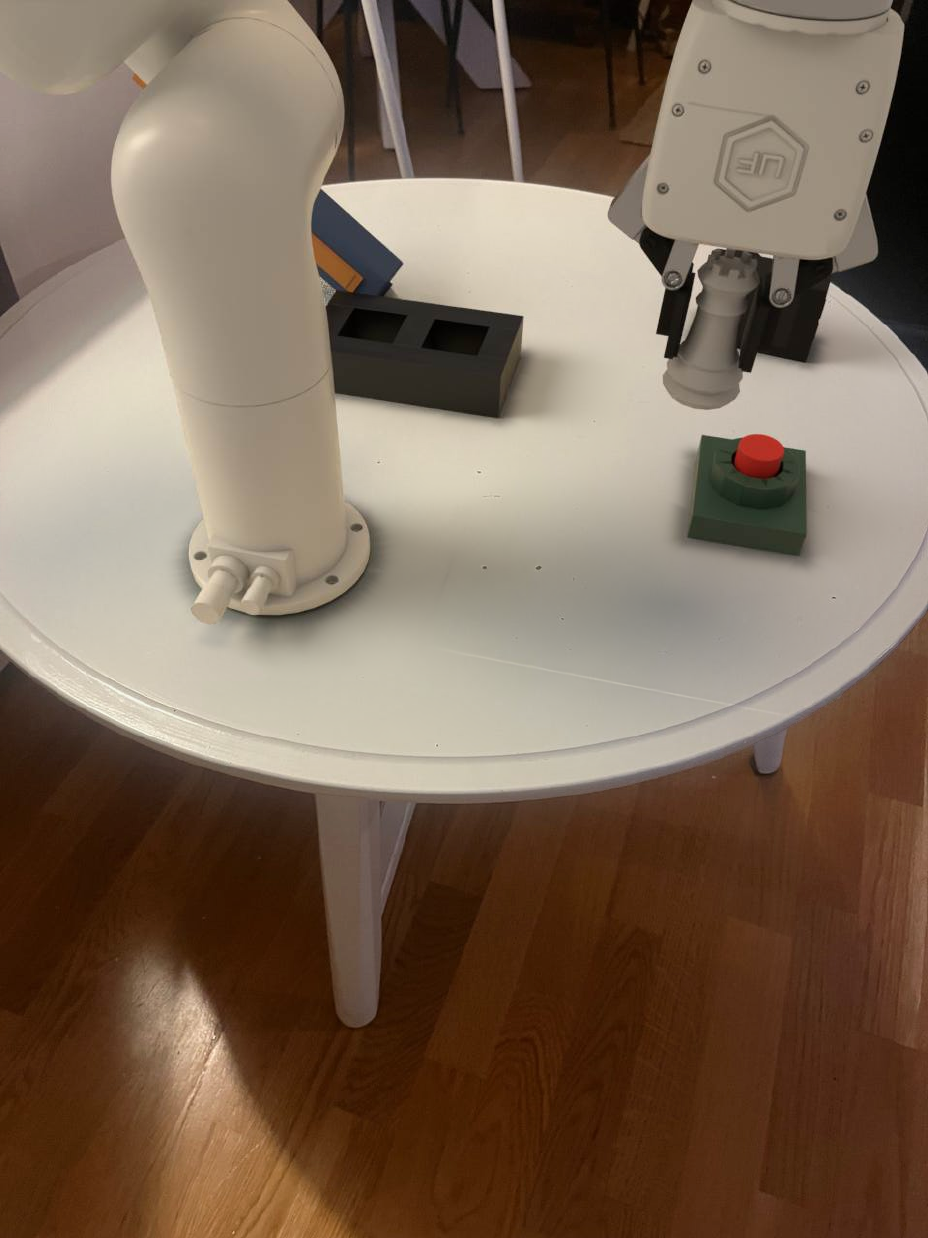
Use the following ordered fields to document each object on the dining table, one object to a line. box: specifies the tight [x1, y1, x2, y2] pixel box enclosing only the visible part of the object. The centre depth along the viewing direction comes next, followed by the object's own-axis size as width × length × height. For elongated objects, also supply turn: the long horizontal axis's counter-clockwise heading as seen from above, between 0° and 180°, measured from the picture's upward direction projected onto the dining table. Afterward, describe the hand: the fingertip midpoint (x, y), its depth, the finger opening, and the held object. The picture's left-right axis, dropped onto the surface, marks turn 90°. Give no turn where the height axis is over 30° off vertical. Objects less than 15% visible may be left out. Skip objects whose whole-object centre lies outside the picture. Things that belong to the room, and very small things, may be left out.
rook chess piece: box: [662, 247, 760, 411], centre depth 53 cm, size 4×4×8 cm
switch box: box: [686, 434, 808, 557], centre depth 73 cm, size 10×8×4 cm
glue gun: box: [132, 73, 404, 299], centre depth 91 cm, size 6×31×15 cm
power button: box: [734, 433, 784, 479], centre depth 71 cm, size 3×3×2 cm
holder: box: [325, 290, 524, 419], centre depth 84 cm, size 10×17×4 cm, turn 77°
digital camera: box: [719, 248, 834, 363], centre depth 88 cm, size 10×5×7 cm, turn 69°
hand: (709, 349), depth 54 cm, fingers closed on rook chess piece, 3 cm apart
